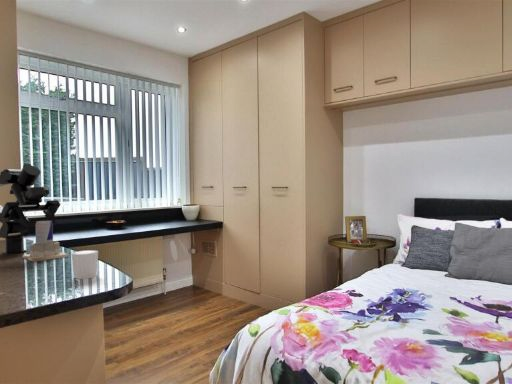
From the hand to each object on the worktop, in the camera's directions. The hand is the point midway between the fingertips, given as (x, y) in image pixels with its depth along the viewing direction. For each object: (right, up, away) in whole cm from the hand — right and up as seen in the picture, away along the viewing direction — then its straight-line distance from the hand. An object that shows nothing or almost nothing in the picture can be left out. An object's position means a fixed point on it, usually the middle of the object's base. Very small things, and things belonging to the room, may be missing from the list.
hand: (41, 225), depth 129 cm
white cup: (+29, -12, -28) cm, 43 cm away
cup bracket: (+2, -12, -1) cm, 12 cm away
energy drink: (+1, -11, -1) cm, 11 cm away
